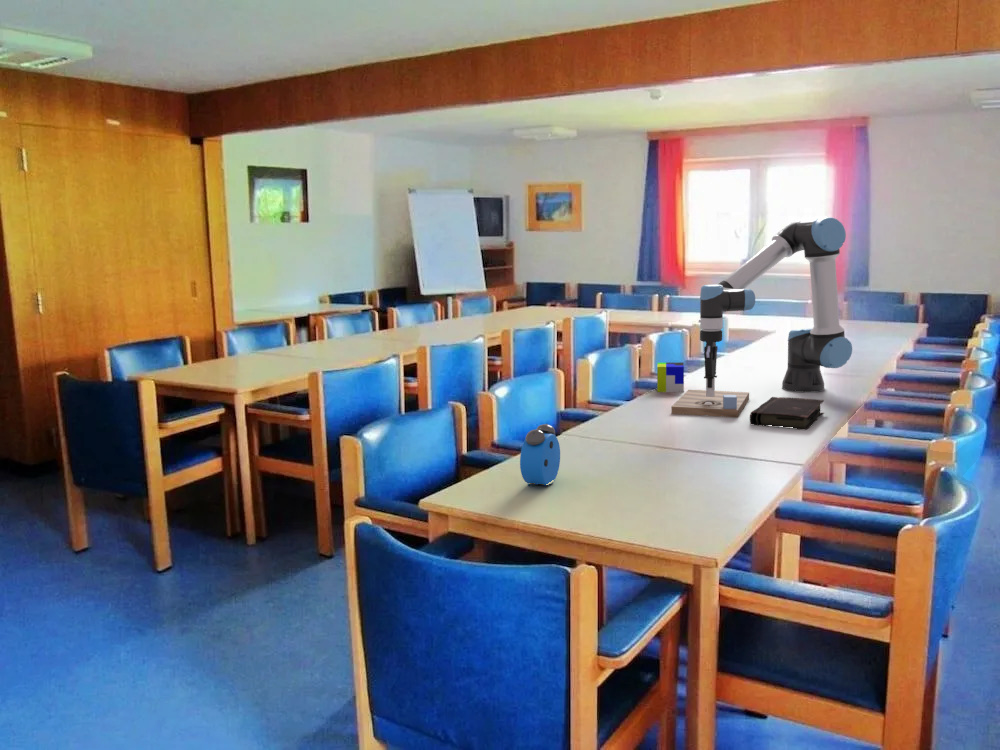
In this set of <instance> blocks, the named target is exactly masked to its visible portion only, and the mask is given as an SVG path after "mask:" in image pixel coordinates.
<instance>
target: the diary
mask: <svg viewBox="0 0 1000 750" xmlns="http://www.w3.org/2000/svg"><path fill="white" fill-rule="evenodd" d="M823 402H825V400H824V399H815V398H804V397H778V396H777V397H776V396H772V397H770V398H768V400H767V401H765V402H764V403H762V404H760V406H759V407H757V408H755V409H754V410H752V411H750V414H749V425H751V424H754V425H753V426H759V425H762V427H767V426H766V425H772V426H783V427H793V428H797V429H796V430H800V429H806V430H808V429H810V428H811V427H812V426H813V424H814V423H816V421H818V420H819V418H820V417H822V415H824V414H825V413H824V412H821V411H822V410H821V405H822V404H823ZM763 425H764V426H763ZM811 425H812V426H811ZM810 426H811V427H810Z"/></svg>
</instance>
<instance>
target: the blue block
mask: <svg viewBox="0 0 1000 750" xmlns="http://www.w3.org/2000/svg"><path fill="white" fill-rule="evenodd" d="M723 407H724V409H737V397H736V395H723Z"/></svg>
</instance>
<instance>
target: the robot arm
mask: <svg viewBox="0 0 1000 750" xmlns="http://www.w3.org/2000/svg"><path fill="white" fill-rule="evenodd" d="M846 236H847V234H846V228H845V226H844V225H843V223H842V222H841V221H840V220H839V219H837V218H835V217H831V216H814V217H802V218H798V219H796V220H794V221H793V222H790V223H789V224H788V225H786V226H785V227H784V228H782V229H781V230H779V231H778V232H777V233H776V234H775V235H773V236H772V237H771V241H770V242H769V243H768V244H767V245H764V247H762V249H760V250H759V251H758V252H756V253H755V254H754V255H753V256H751V257H750V258H749V259H748V260H747V261H745V262H744V263H742V264H741V266H739V267H738V268H737V269H735V270H734V271H733V272H731V273H730V274H729V275H728V276H726V278H724V279H723V280H721V281H720V282H719V283H718V284H705V285H702V286H701V287H700V296H699V303H700V306H699V307H700V308H699V309H700V310H699V315H700V316H699V318H700V319H699V320H698V323H700V324H699V327H700V328H699V329H700V331H699V340H700V342H702V343H704V342H705V346H704V347H703V348H704V349H703V350H704V351H703V356H704V376H703V379H705V390H706V397H714V396H715V391H716V390H715V387H716V386H715V385H716V378H717V377H718V375H717V359H718V345H717V343H719V342H722V341H723V330H722V329H723V328H724V327H723V325H724V323H723V322H724V321H723V319H724V318H723V314H724V312H745V311H751V310H752V309H753V308H754V307H755V305H756V295H755V292H754V291H753V290H752V289H750V288H748V287H750V285H752V284H753V283H755V282H756V281H757V280H758V279H759V278H761V277H762V276H763V275H764V274H766V273H767V272H769V270H771V269H773V267H774V266H776V265H777V264H779V263H780V262H781V261H782V260H783V259H785V258H791V257H792V256H793V255H794V254H795V253H798V252H802V251H804V252H803V253H804V258H805V259H806V260H807V261H808V262H809V270H810V272H809V273H810V284H811V286H810V289H811V302H812V304H811V305H812V318H813V327H812V328H800V329H792V330H790V331H789V332H788V335H787V336H788V337H787V369H786V371H785V374H784V377H783V380H782V384H781V389H783V390H786V391H789V392H796V393H800V392H801V393H814V392H816V393H817V392H821V391H822V392H823V391H824V390H825V380H824V378H823V375H822V372H821V367H824V368H826V369H838V368H841V367H843V366H845V365H846V364H847V363H848V361H849V360H850V359H851V357H852V354H853V345H852V342H851V341H850V340H849V338H847V337H846V336H845V328H844V327H842V326H841V325H840V317H839V316H840V313H839V311H840V310H839V294H838V280H837V264H836V262H837V261H836V260H837V258H838V257H839V255H840V254H841V253H840V252H841V251H840V249H841V247H842V246H844V243H845V242H846V238H847V237H846Z"/></svg>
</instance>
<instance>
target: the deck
mask: <svg viewBox="0 0 1000 750" xmlns="http://www.w3.org/2000/svg"><path fill="white" fill-rule="evenodd" d="M723 395H736V397H737V409H724V407H723ZM748 401H750V391H748V392H746V391H726V390H725V391H724V390H723V391H722V390H715V396H714V397H706V389H705V390H703V389H702V390H701V389H688V390H686V391H685V392H684V393H683V395H681V396H680V397H679V398H678V400H676V401H675V402H674V403H673V405H671V414H673V415H687V416H689V415H690V416H704V415H708V416H709V417H721V416H722V417H723V416H724V417H725V418H738V417H739V416H740V414H741V413H742V411H743V410H744V408H745V407H746V405H747V403H748ZM705 402H711V403H712V404H713V405H705V404H704V403H705ZM722 417H721V418H722Z"/></svg>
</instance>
